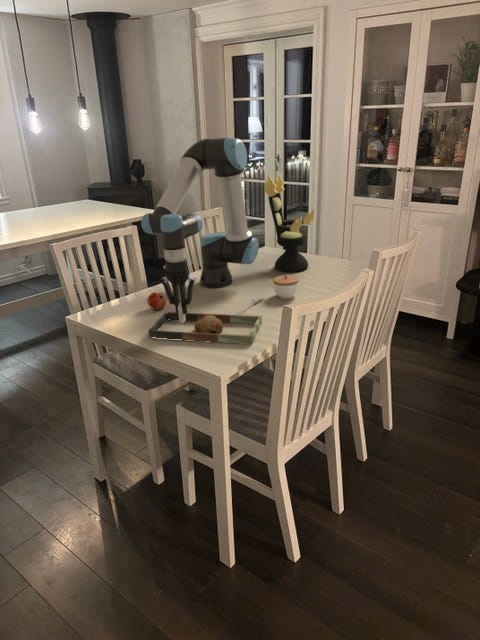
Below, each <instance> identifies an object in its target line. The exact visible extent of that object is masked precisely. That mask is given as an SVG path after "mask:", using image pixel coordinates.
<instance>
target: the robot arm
mask: <svg viewBox="0 0 480 640" xmlns="http://www.w3.org/2000/svg"><path fill="white" fill-rule="evenodd" d="M246 148H247V147H246V146H245V144H244V142H243V141H241V139H240V138H237V137H235V138H234V137H222V138H221V137H220V138H203V139H200V140H198V141H196V142H195V143H193V144H192V145H191V146H190V147H189V148H188V149H187V150H186V151H185V152H184V153H183V155H182V157H180V160H179V162H178V163H179V164H178V165H179V167H178V168H177V170H176V172H175V173H174V176H173V177H172V179H171V180H170V183H168V185H167V187H166V189H165V190H164V193H163V195H162V196H161V198H160V200H159V202H158V203H157V205H156V207H155V208H154V210H153V212H149V213H144V215H142V217H141V225H140V226H141V228H142V230H143V232H144V233H146V234H150V235H156V236H157V235H159V236H160V235H161V238H162V243H163V244H162V245H163V255H164V260H165V262H164V265H165V271H166V272H165V276H163V277H161V279H160V283H161V284H162V286H163V288H164V292H165V293H166V297H167V300H168V302H169V304H170V305H174V307H175V312H176V313H177V314H179V321H178V322H179V324H184V323H185V322H187V321H186V317H185V314H186V313H188V307H187V306H188V305H190V303H191V302H192V299H193V298H192V297H193V290H194V284H195V283H196V281H197V278H196V277H192V276H190V273H189V271H188V270H189V269H188V260H187V252H186V251H187V250H186V243H185V242H186V239H187V238H190V237H192V236H195V235H196V234H198V233H199V232H200V231H202V229H203V226H204V225H203V220H202V217H201V216H200V215H199V214H198V213H196V212H190V213H189V212H188V213H187V214H180V213H177V212H178V210H179V208H180V206H181V205H182V203H183V201H184V200H185V197H187V195H188V193H189V191H190V189H191V187H192V185H193V183H194V181H195V180H196V178H198V177H199V176H200V175H201V174H202V173H203V171H205V170H213V171H214V175H215V177H216V178H217V179H219V183H220V190H221V195H222V201H223V207H224V214H225V221H226V226H227V231H228V232H227V234H226V232H225V231H224V232H223V231H215V232H211V233H207V234H205V235H203V236H202V237H201V238H200V251H201V253H200V254H201V262H202V270H201V275H200V280H199V281H200V283H199V284H200V285H201V286H202V287H204V288H209V289H211V288H212V289H216V288H223V287H227V286H230V285H231V284H232V283H233V281H234V280H233V276H232V273H231V271H230V268H229V264H240V265H252V264H253V263H255V260H256V259H257V256H258V253H259V240H258V238H257V237H253V233H252V231H251V230H250V229H249V228H248V222H247V221H248V220H247V214H246V207H245V201H244V200H245V199H244V192H243V186H242V179H241V177H242V176H241V175H242V174H243V173H244V169H245V168H246V167H247V165H248V152H247V149H246ZM187 281H188V286H187V292H186V282H187Z"/></svg>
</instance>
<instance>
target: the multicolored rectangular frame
mask: <svg viewBox="0 0 480 640" xmlns="http://www.w3.org/2000/svg"><path fill="white" fill-rule="evenodd" d="M205 315H212V316H215V317H216V318H218V319H219V320H220V321H221V322H222V324H225V323H226V324H242V325H243V324H245V325H253V327H252V329H251V331H250V334H247V335H246V334H234V333H233V334H231V333H230V334H226V333H219V334H213V333H196V332H189V331H170V330H167V331H166V330H159V331H158V329H159V328H160V327H161V326H162V325H163V324H164V323H165V322H166V321H167V320H168V319H170V320H168V321H173V320H179V314H177V313H176V311H175V312H172V311H169V312H168V311H167V312H165V313H163V315H162V316H161V317H160V318H158V320H157V321H156V322H155V323H154V324H153V325H152V326H151V328H149V329H148V336H149V337H150V336H151V337H156V338H167V339H182V340H194V341H210V342H209V343H212V342H227V343H226V344H231V343H239V344H238V345H249V344H252V345H253V344H254V342H255V339H256V337H257V336H258V333H259V331H260V328H261V326H262V324H263V318H262V317H263V316H262V315H247V314H241V315H235V314H225V313H224V314H223V313H221V314H220V313H197V312H195V313H194V312H187V313H186V314H185V317H186V321H185V322H196V321H198V320H199V319H200V318H201V317H203V316H205ZM168 321H167V322H168ZM167 322H166V323H167ZM166 323H165V324H166ZM165 324H164V325H165ZM194 341H193V342H194Z"/></svg>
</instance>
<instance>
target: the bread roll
mask: <svg viewBox="0 0 480 640" xmlns="http://www.w3.org/2000/svg"><path fill="white" fill-rule="evenodd" d="M223 325H224V324H223V323H222V322H221V321H220V320H219V319H218V318H216V317H215V316H212V315H205V316H203V317H201V318H200V319H199V320H198V321H197V322H196V321H195V324H194V331H195V333H213V334H218V333H219V334H222V332H223V328H224V327H223Z"/></svg>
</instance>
